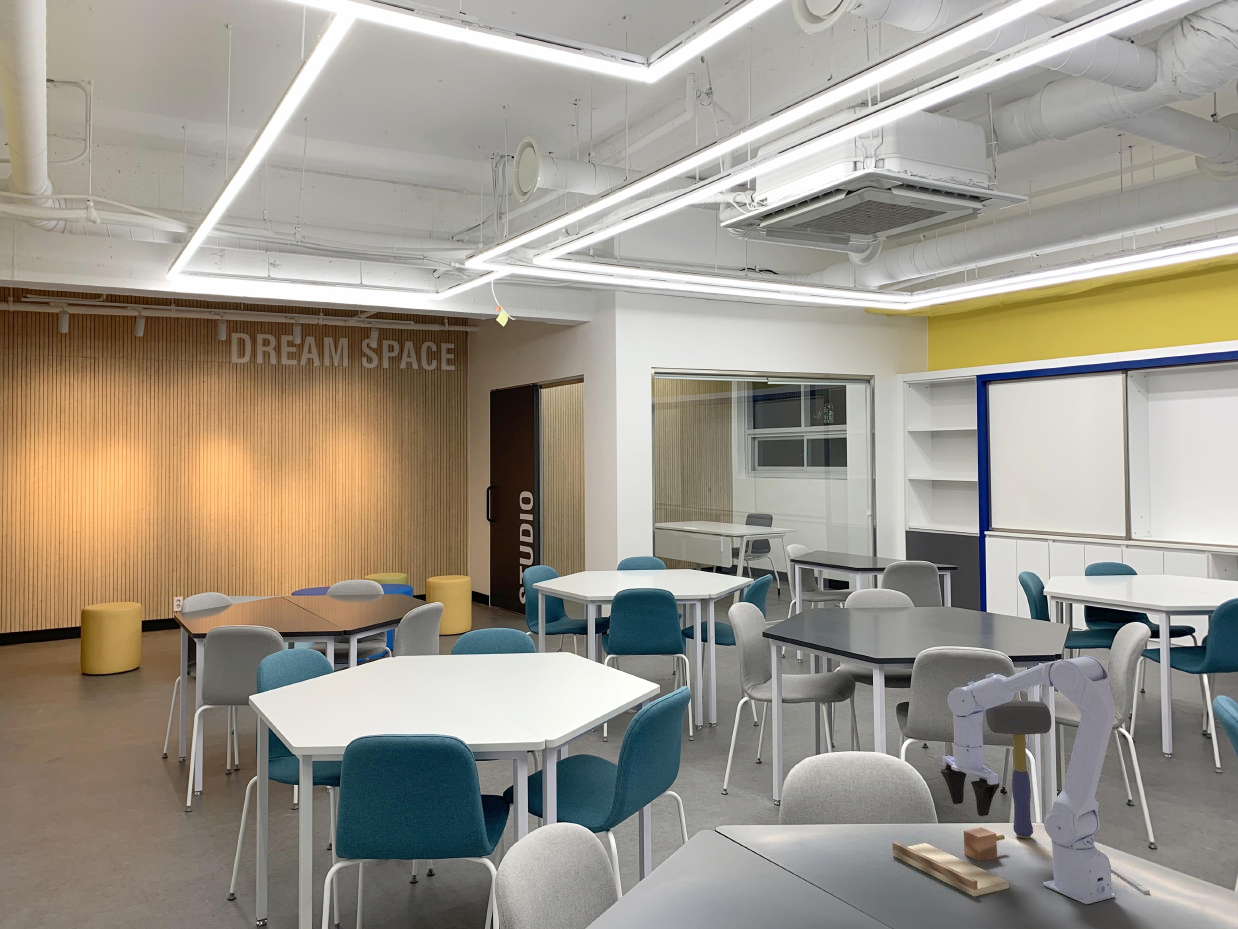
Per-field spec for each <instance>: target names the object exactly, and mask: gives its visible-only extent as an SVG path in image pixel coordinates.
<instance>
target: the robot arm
mask: <svg viewBox="0 0 1238 929" xmlns="http://www.w3.org/2000/svg"><path fill="white" fill-rule="evenodd" d="M1110 681H1111V674H1110V673H1109V671H1108V670H1107V669H1106V667H1105V666H1104V665H1103V664H1102V662H1101V661H1100V660H1099V659H1097V658H1096V657H1094V656H1091V655H1080V656H1079V657H1076V658H1066V659H1060V660H1056V661H1049V662H1044V663H1040V664H1038V665H1036V666H1033V667H1031V668H1029V669H1025V670H1024V671H1021V672H1018V673H1016V674H1013V675H1011V676H1009V677H1007V676H1004V675H1002V674H999V673H998V674H995V673H994V672H992V673H989V674H988V673H987V674H986V675H985V678H983V679H981V680H978V681H976V682H975V681H969V682H967V686H962V687H955V688H954V689H952V690H951V691H950V692H949V693H948V695H947V700H946V701H947V706H948V708H949V709H950V712H952V714H953V716H952V717H953V746H954V747H953V748H954V750H953V752H954V756H951V755H945V756H944V755H943V756H941V757H942V758H941V760H942V761H941V762H942V764H941V765H942V766H943V767H945V768H941V769H940V773H941V775H942V776H943V779H944V780H945V783H946V785H947V788H948V792H949V795H950V798H951V800H952V801H951V802H952V804H953V805H960V804H964V803H963V802H964V793H965V792H964V791H965V790H964V788H965V782H966V777H967V775H969V776H971V777H973V778H977V779H979V780H973V781H970V784H971V786H972V789H973V792H974V795H975V801H976V803H975V804H976V811H977V816H980V817H985V816H989V813H990V810H991V806H992V802H993V799H994V796H995V794H996V792H997V791H998V789H999V788H1000V782H999V774H998V773H996V772H993V771H992V770H991V769H989V768H988V767H986V766H985V765H984V738H983V737H984V734H983V733H984V732H983V731H984V730H983V720H984V713H985V712H986V709H989V708H992V707H995V706H998V705H1001V704H1004V703H1007V702H1010V701H1011V700H1014V696H1015V694H1016V693H1017V692H1020V691H1023V690H1027V689H1030V688H1033V687H1036V686H1039V685H1043V684H1044V685H1045V686H1047V687H1049V688H1052V687H1054V688H1056V690H1057V691H1058V692H1060V693H1061V694H1062V695H1063V696H1064V697H1066V699H1068V700H1069V701H1070V702H1071V703H1072V704H1073V705H1074V706H1075V707H1076V708H1077V709H1078V711H1079V712H1080V714H1081V715H1080V720H1079V722H1078V727H1077V731H1076V735H1075V738H1074V744H1073V748H1072V752H1071V756H1070V760H1069V764H1068V767H1067V772H1066V775H1065V780H1064V784H1063V788H1062V790H1061V792H1060V793H1059V794H1058V795H1057V797H1056V798H1055V800H1054V801H1053V805H1052V808H1051V809H1050V811H1048V812H1047V813H1046V814H1045V815H1044V819H1043V827H1044V831H1045V832H1046V834H1047V835H1048V837H1049V838H1050V840H1051V848H1052V849H1051V850H1052V874H1053V879H1052V880H1048V881H1047V880H1046V881H1044V882H1042V885H1043V886H1045V887H1047V888H1048V889H1050V890H1053V891H1055V892H1058V893H1060V894H1063V895H1065V896H1067V897H1069V898H1071V899H1073V900H1076V901H1078V902H1080V903H1082V904H1085V905H1089V904H1093V903H1094V904H1095V903H1096V902H1097V903H1098V902H1101V901H1104V900H1108V899H1111V898H1115V897H1116V894H1115V893H1114V892H1113V890H1112V888H1113V886H1112V872H1111V866H1110V865H1111V861H1110V859H1109V857H1108V856H1107V854H1106V853H1103V851H1100V850H1099V849H1098V848H1097V847H1096V845H1095V836H1094V835H1095V834H1096V833H1097V832H1098V830H1100V825H1101V824H1100V823H1101V822H1100V818H1099V813H1098V812H1099V807H1100V803H1099V802H1098V801H1097V799H1096V798H1095V796H1096V794H1097V793H1096V792H1097V789H1098V786H1099V780H1100V777H1101V773H1102V768H1103V766H1104V761H1105V757H1106V755H1107V754H1106V753H1107V749H1108V745H1109V741H1110V738H1111V733H1112V731H1113V730H1112V729H1113V725H1114V722H1115V718H1116V713H1117V710H1116V709H1117V708H1116V706H1115V701H1114V698H1113V697H1114V696H1113V694H1112V689H1111V685H1110Z"/></svg>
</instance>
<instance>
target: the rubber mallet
mask: <svg viewBox="0 0 1238 929" xmlns="http://www.w3.org/2000/svg"><path fill="white" fill-rule="evenodd" d="M985 714H986V715H985V718H986V723H987V726H988V729H989V730H990V731H991V732H992V733H994V734H1005V735H1012V736H1013V738H1012V739H1013V744H1012V745H1013V766H1014V767H1013V772H1012V779H1011V780H1012V782H1011V786H1012V787H1011V791H1012V792H1011V793H1012V799H1013V804H1014V805H1013V806H1014V808H1013V809H1014V821H1013V831H1014V833H1015V835H1016V837H1018V838H1019V839H1030V838H1031V837H1032V835H1033V833H1034V827H1033V824H1032V820H1031V816H1032V815H1031V799H1032V798H1031V797H1032V796H1031V795H1032V790H1031V780H1030V775H1029V771H1028V770H1027V769H1028V768H1027V767H1028V766H1027V751H1026V750H1027V749H1026V735H1040V734H1041V735H1042V734H1048V733H1049V731H1051V728H1052V715H1051V711H1050V709H1049V706H1048V705H1047V704H1046V703H1045V702H1043V701H1036V700H1035V701H1033V700H1018V699H1017V700H1015V699H1012V700H1011V701H1010V702H1007V703H1004V704H1001V705H998V706H995V707H992V708H989V709H986V710H985Z"/></svg>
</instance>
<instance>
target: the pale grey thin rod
mask: <svg viewBox="0 0 1238 929" xmlns="http://www.w3.org/2000/svg"><path fill="white" fill-rule="evenodd" d="M1110 866H1111V874H1113V873H1114V874H1113V875H1115V876H1116V875H1117V877H1118V878H1119V877H1120V879H1121V880H1122V879H1123V880H1122V881H1124V882H1125V881H1126V882H1125V883H1127V884H1128V885H1130V886H1131V887H1133V888H1134V889H1136V891H1138V892H1140V893H1141V894H1143V893H1144V894H1143V895H1151V891H1150V889H1148V888H1146V887H1145V886H1143V885H1142V884H1140V883H1139V882H1138V881H1136V880H1135V879H1133V878H1132V877H1130V876H1128V875H1127V874H1125V873H1124V872H1122V871H1121V870H1119V869H1118V868H1116V867H1115V866H1113V865H1112V864H1110Z"/></svg>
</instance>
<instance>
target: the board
mask: <svg viewBox="0 0 1238 929" xmlns="http://www.w3.org/2000/svg"><path fill="white" fill-rule="evenodd" d="M892 856H893V857H895V858H897V859H898V860H901V861H903V862H905V863H906V864H909V865H910V866H913V867H914V868H916V869H919V870H920V871H923V872H925V873H926V874H928V875H930V876H933V877H935V878H937V879H938V880H941V882H944V883H946V884H949V885H950V886H953V887H954V888H956V889H958V890H960V891H962V892H964V893H966V894H968V895H970V896H972V897H977V896H982V895H986V894H990V893H994V892H999V891H1002V890H1006V889H1007V890H1008V889H1009V888H1010V882H1009V880H1006V879H1005V878H1002V877H1000V876H998V875H995V874H993V873H991V872H989V871H987V870H985V869H983V868H982V867H978V866H976V865H974V864H972V863H970V862H967V861H966V860H963V859H962V858H959V857H957V856H954V855H952V854H950V853H948V852H946V851H944V850H942V849H940V848H937V847H935V846H933V845H931V844H929V843H926V842H923V843H919V844H914V845H909V846H906V845H904V844H901V843H900V842H897V841H892Z"/></svg>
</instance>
